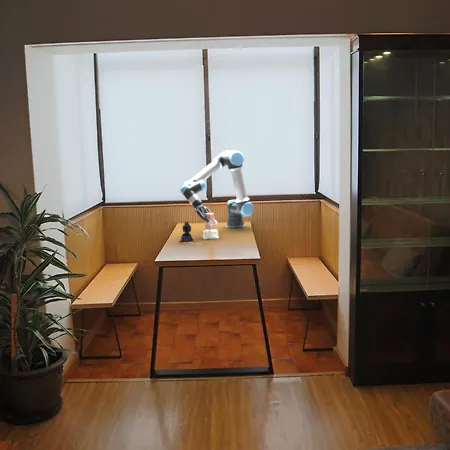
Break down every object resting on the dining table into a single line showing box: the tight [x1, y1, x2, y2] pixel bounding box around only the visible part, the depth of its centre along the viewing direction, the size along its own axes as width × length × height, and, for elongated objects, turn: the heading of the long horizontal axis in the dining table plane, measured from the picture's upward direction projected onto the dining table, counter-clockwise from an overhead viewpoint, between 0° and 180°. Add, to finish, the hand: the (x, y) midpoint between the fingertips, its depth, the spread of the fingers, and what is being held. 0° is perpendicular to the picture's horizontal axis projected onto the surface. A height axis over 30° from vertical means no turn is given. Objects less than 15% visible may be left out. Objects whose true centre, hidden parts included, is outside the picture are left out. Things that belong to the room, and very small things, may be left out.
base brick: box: [202, 229, 219, 239], centre depth 404 cm, size 8×8×5 cm
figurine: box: [177, 221, 194, 243], centre depth 396 cm, size 8×12×15 cm
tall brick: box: [204, 212, 216, 230], centre depth 402 cm, size 5×5×12 cm
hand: (214, 224), depth 400 cm, fingers closed on tall brick, 5 cm apart
